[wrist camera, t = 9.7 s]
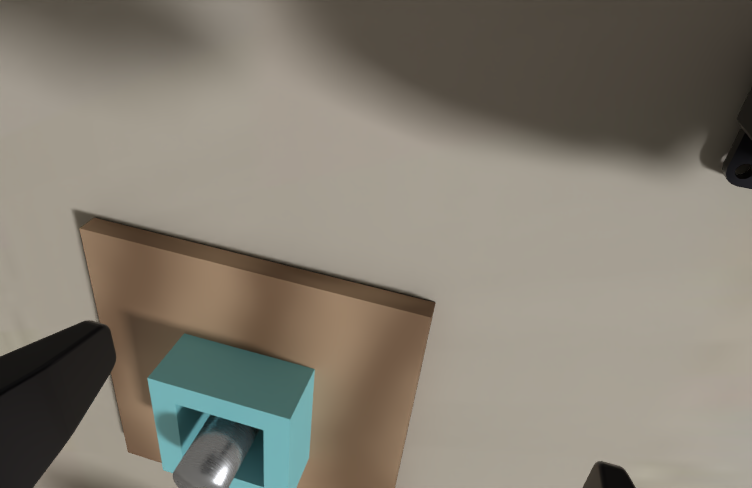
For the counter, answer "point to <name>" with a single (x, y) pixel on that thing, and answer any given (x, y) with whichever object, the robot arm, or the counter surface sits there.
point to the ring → (235, 407)
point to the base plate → (264, 341)
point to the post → (215, 454)
